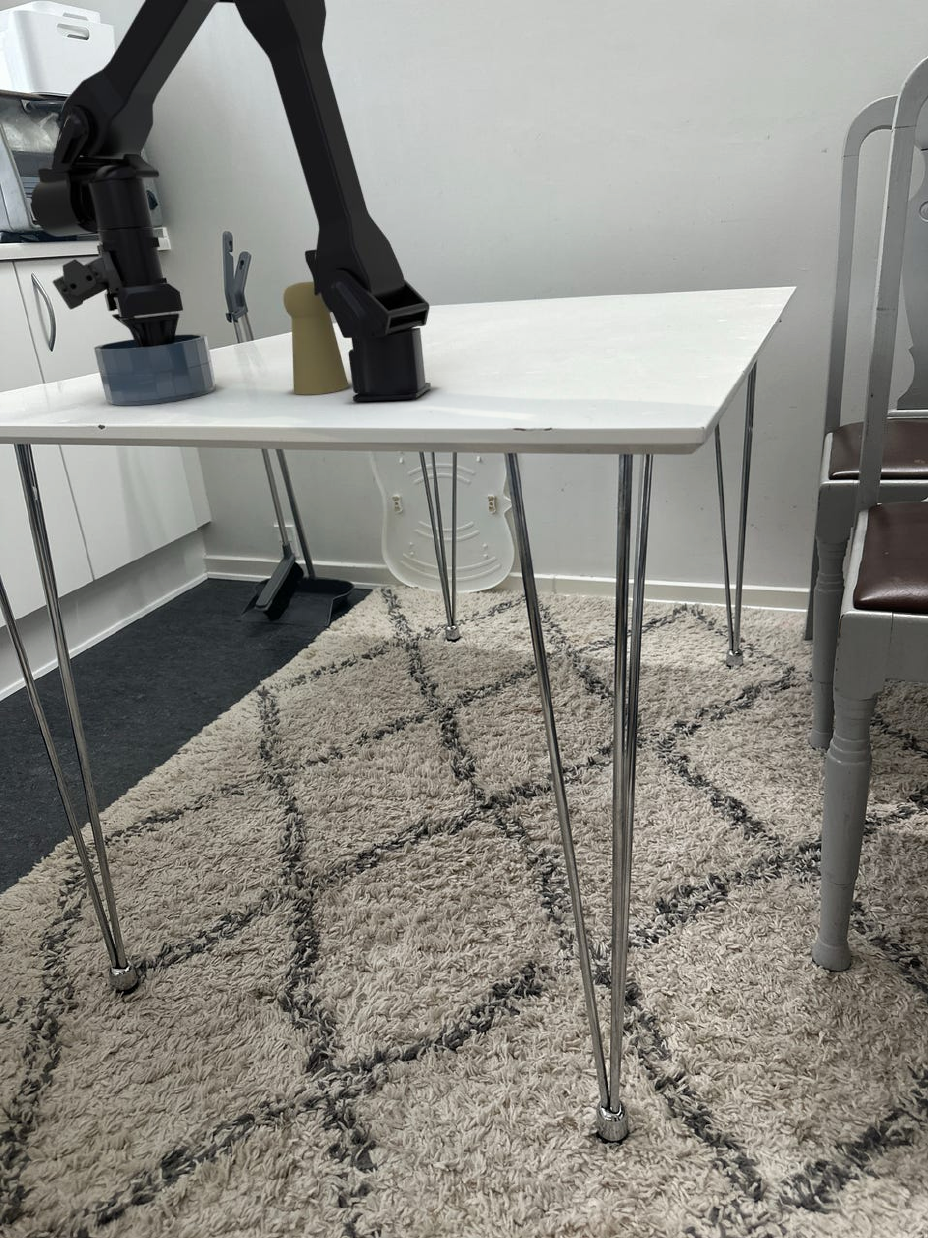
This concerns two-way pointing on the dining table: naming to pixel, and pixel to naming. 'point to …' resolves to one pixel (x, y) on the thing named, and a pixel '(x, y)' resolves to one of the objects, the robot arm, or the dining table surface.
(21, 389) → the dining table surface
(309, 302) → the cork
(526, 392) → the dining table surface
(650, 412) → the dining table surface
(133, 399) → the bowl
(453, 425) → the dining table surface
